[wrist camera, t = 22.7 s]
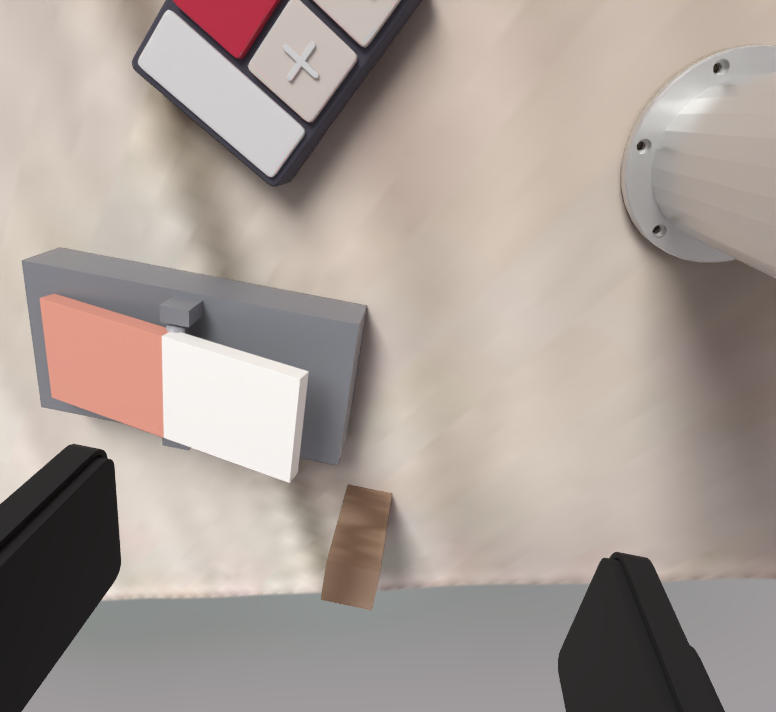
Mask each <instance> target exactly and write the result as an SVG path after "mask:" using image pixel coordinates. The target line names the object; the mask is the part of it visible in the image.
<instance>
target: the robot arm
mask: <svg viewBox="0 0 776 712" xmlns="http://www.w3.org/2000/svg"><path fill="white" fill-rule="evenodd" d="M715 64H717V65H718V71H717V72H716V73H714V72H713V66H714V65H715ZM640 141H641V142H643V147H642V149H640V150H637V144H638V143H639V142H640ZM621 188H622V193H623V198H624V203H625V207H626V209H627V211H628V213H629V216H630V218H631V220H632V222H633V223H634V225H635V226H636V227H637V229H638V230H639V231H640V233H641V234H642V235H643V236H644V237H645V238H646V239H648V240H649V241H650V242H651V243H652V244H653V245H655V246H656V247H658V248H660V249H661V250H663V251H664V252H666V253H668V254H671V255H673V256H676V257H678V258H681V259H683V260H689V261H694V262H700V263H721V262H726V261H732V260H739V261H741V262H743V263H745V264H747V265H749V266H751V267H753V268H755V269H757V270H759V271H761V272H763V273H765V274H767V275H769V276H771V277H773V278H775V279H776V45H763V44H757V45H750V46H743V47H736V48H732V49H728V50H724V51H721V52H717V53H715V54H713V55H710V56H708V57H706V58H704V59H701V60H699V61H697V62H695V63H694V64H692V65H690V66H689V67H687V68H686V69H684V70H683V71H681V72H680V73H678V74H677V75H675V76H674V77H673V78H672V79H671V80H670V81H669V82H668V83H667V84H665V85H664V86H663V87H662V88H661V89H660V90H659V91H658V92H657V93H656V95H655V96H654V97H653V98H652V99H651V101H650V102H649V103H648V104H647V106H646V107H645V108H644V110H643V111H642V113H641V115H640V116H639V118H638V120H637V122H636V123H635V125H634V127H633V129H632V131H631V134H630V137H629V139H628V142H627V145H626V147H625V152H624V157H623V162H622V168H621ZM655 226H658V230H657V231H656V232H652V231H653V229H654V227H655ZM120 566H121V553H120V539H119V525H118V511H117V496H116V482H115V468H114V462H113V461H112V460H111V459H108V458H107V454H106V452H105V451H104V450H101V449H96V448H91V447H86V446H81V445H76V444H72V445H69V446H67V447H66V448H64V449H63V450H62V451H61V452H60V453H59V454H58V455H56V456H55V457H54V458H53V459H52V460H51V461H50V462H48V463H47V464H46V465H45V466H44V467H43V468H42V469H40V470H39V471H38V472H37V473H36V474H35V475H33V476H32V477H31V478H30V479H29V480H28V481H27V482H25V483H24V484H23V485H22V486H21V487H20V488H19V489H17V490H16V491H15V492H14V493H13V494H12V495H10V496H9V497H8V498H7V499H6V500H5V501H4V502H2V503H1V504H0V712H21V711H22V710H23V709H24V707H25V706H26V705H27V703H28V701H29V700H30V699H31V698H32V696H33V695H34V693H35V692H36V690H37V689H38V688H39V686H40V685H41V684H42V682H43V681H44V679H45V678H46V677H47V675H48V674H49V672H50V671H51V670H52V668H53V667H54V665H55V664H56V662H57V661H58V660H59V658H60V657H61V656H62V654H63V653H64V651H65V650H66V649H67V647H68V646H69V644H70V643H71V641H72V640H73V639H74V637H75V636H76V635H77V633H78V632H79V630H80V629H81V628H82V626H83V625H84V623H85V622H86V620H87V619H88V618H89V616H90V615H91V613H92V612H93V611H94V609H95V608H96V607H97V605H98V604H99V602H100V601H101V600H102V598H103V597H104V595H105V594H106V593H107V591H108V590H109V588H110V587H111V586H112V584H113V583H114V581H115V580H116V578H117V576H118V573H119V570H120ZM558 672H559V678H560V683H561V688H562V693H563V698H564V703H565V708H566V712H725V711H724V709H723V707H722V705H721V703H720V700H719V698H718V696H717V694H716V692H715V689H714V687H713V685H712V683H711V681H710V679H709V676H708V674H707V672H706V670H705V668H704V666H703V663H702V661H701V659H700V657H699V656H698V654H697V652H696V651H695V649H694V648H693V647H691V646H690V645H689V643H688V641H687V639H686V636H685V634H684V632H683V630H682V628H681V626H680V623H679V621H678V619H677V617H676V614H675V612H674V610H673V608H672V606H671V603H670V601H669V599H668V597H667V595H666V593H665V590H664V588H663V586H662V584H661V581H660V579H659V577H658V575H657V573H656V570H655V568H654V566H653V564H652V562H651V561H650V560H649V559H648V558H645V557H640V556H635V555H630V554H625V553H620V552H615V553H613V554H612V555H611V557H610V558H603V559H602V560H601V561H600V563H599V565H598V567H597V570H596V572H595V574H594V576H593V579H592V581H591V583H590V585H589V588H588V590H587V592H586V594H585V597H584V599H583V601H582V603H581V605H580V608H579V610H578V612H577V614H576V617H575V619H574V621H573V623H572V626H571V628H570V630H569V632H568V635H567V637H566V639H565V641H564V643H563V646H562V648H561V650H560V653H559V658H558Z"/></svg>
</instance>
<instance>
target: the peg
mask: <svg viewBox="0 0 776 712" xmlns="http://www.w3.org/2000/svg"><path fill="white" fill-rule="evenodd" d="M391 497H392V493H387V492H382V491H377V490H372V489H367V488H362V487H357V486H352V485H348V486H347V489H346V493H345V497H344V500H343V504H342V508H341V511H340V515H339V519H338V522H337V526H336V530H335V533H334V537H333V541H332V544H331V548H330V552H329V555H328V559H327V563H326V570H325V576H324V582H323V589H322V596H321V600H325V601H330V602H335V603H339V604H344V605H349V606H354V607H359V608H364V609H369V610H372V608H373V603H374V598H375V594H376V589H377V585H378V580H379V575H380V570H381V563H382V557H383V550H384V543H385V537H386V530H387V523H388V517H389V510H390V504H391Z"/></svg>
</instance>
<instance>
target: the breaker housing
mask: <svg viewBox="0 0 776 712" xmlns="http://www.w3.org/2000/svg"><path fill="white" fill-rule="evenodd" d="M22 266H23V274H24V281H25V288H26V296H27V303H28V311H29V318H30V326H31V333H32V341H33V348H34V356H35V363H36V370H37V378H38V385H39V393H40V400H41V407H44V408H49V409H54V410H59V411H64V412H69V413H74V414H79V415H84V416H90V417H95V418H100V419H105V420H110V421H115V422H119V421H116V420H113V419H110V418H107V417H105V416H102V415H99V414H96V413H94V412H91V411H88V410H85V409H82V408H80V407H77V406H74V405H71V404H69V403H66V402H63V401H60V400H57V399H55V398H52V395H51V387H50V379H49V371H48V363H47V355H46V347H45V339H44V331H43V323H42V314H41V306H40V298H41V297H44V296H48V295H51V294H58V295H61V296H64V297H67V298H71V299H74V300H77V301H80V302H84V303H87V304H90V305H94V306H97V307H100V308H103V309H107V310H110V311H113V312H116V313H120V314H123V315H126V316H129V317H133V318H136V319H139V320H142V321H146V322H149V323H152V324H156V325H159V326H162V327H165V328H166V325H168V324H173V325H178V326H183V327H185V334H188V335H191V336H195V337H198V338H201V339H205V340H208V341H211V342H214V343H218V344H221V345H224V346H227V347H231V348H234V349H237V350H240V351H244V352H247V353H250V354H253V355H257V356H260V357H263V358H267V359H270V360H273V361H276V362H280V363H283V364H286V365H289V366H293V367H296V368H299V369H302V370H306V371H309V374H308V383H307V393H306V402H305V411H304V420H303V429H302V438H301V447H300V456H299V458H302V459H308V460H313V461H318V462H323V463H328V464H333V465H338V464H339V461H340V458H341V454H342V451H343V448H344V445H345V442H346V439H347V433H348V427H349V420H350V414H351V407H352V401H353V394H354V387H355V381H356V374H357V368H358V361H359V355H360V348H361V342H362V335H363V329H364V322H365V316H366V309H367V305H361V304H356V303H351V302H345V301H340V300H335V299H330V298H324V297H319V296H314V295H308V294H303V293H298V292H293V291H287V290H282V289H277V288H271V287H266V286H261V285H255V284H250V283H245V282H240V281H234V280H229V279H224V278H218V277H213V276H208V275H203V274H197V273H192V272H187V271H181V270H176V269H171V268H165V267H160V266H155V265H150V264H144V263H139V262H134V261H128V260H123V259H118V258H113V257H107V256H102V255H97V254H91V253H86V252H81V251H76V250H70V249H65V248H57V249H54V250H51V251H48V252H45V253H42V254H39V255H36V256H33V257H30V258H27V259H24V260H22ZM120 423H121V422H120ZM162 441H163V445H165V446H170V447H175V448H180V449H185V450H189V449H190V448H191V447H188V446H185V445H183V444H180V443H177V442H174V441H171V440H169V439H166V438H163V437H162Z"/></svg>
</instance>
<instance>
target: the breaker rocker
mask: <svg viewBox="0 0 776 712" xmlns="http://www.w3.org/2000/svg"><path fill="white" fill-rule="evenodd" d="M40 306H41V314H42V323H43V331H44V339H45V347H46V355H47V363H48V371H49V379H50V387H51V395H52V398H55V399H57V400H60V401H63V402H66V403H69V404H71V405H74V406H77V407H80V408H82V409H85V410H88V411H91V412H94V413H96V414H99V415H102V416H105V417H107V418H110V419H113V420H116V421H119V422H121V423H124V424H127V425H130V426H132V427H135V428H138V429H141V430H144V431H146V432H149V433H152V434H155V435H157V436H160V437H163V438H166V439H169V440H171V441H174V442H177V443H180V444H183V445H185V446H188V447H191V448H194V449H196V450H199V451H202V452H205V453H208V454H210V455H213V456H216V457H219V458H221V459H224V460H227V461H230V462H233V463H235V464H238V465H241V466H244V467H246V468H249V469H252V470H255V471H258V472H260V473H263V474H266V475H269V476H271V477H274V478H277V479H280V480H283V481H285V482H288V483H290V482H291V481H292V479H293V478H294V477H295V476H296V474H297V473H298V465H299V456H300V447H301V438H302V429H303V420H304V411H305V402H306V393H307V383H308V374H309V371H306V370H302V369H299V368H296V367H293V366H289V365H286V364H283V363H280V362H276V361H273V360H270V359H267V358H263V357H260V356H257V355H253V354H250V353H247V352H244V351H240V350H237V349H234V348H231V347H227V346H224V345H221V344H218V343H214V342H211V341H208V340H205V339H201V338H198V337H195V336H191V335H188V334H185V327H183V326H178V325H173V324H168V325H166V328H165V327H162V326H159V325H156V324H152V323H149V322H146V321H142V320H139V319H136V318H133V317H129V316H126V315H123V314H120V313H116V312H113V311H110V310H107V309H103V308H100V307H97V306H94V305H90V304H87V303H84V302H80V301H77V300H74V299H71V298H67V297H64V296H61V295H58V294H51V295H48V296H44V297H41V298H40Z"/></svg>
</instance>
